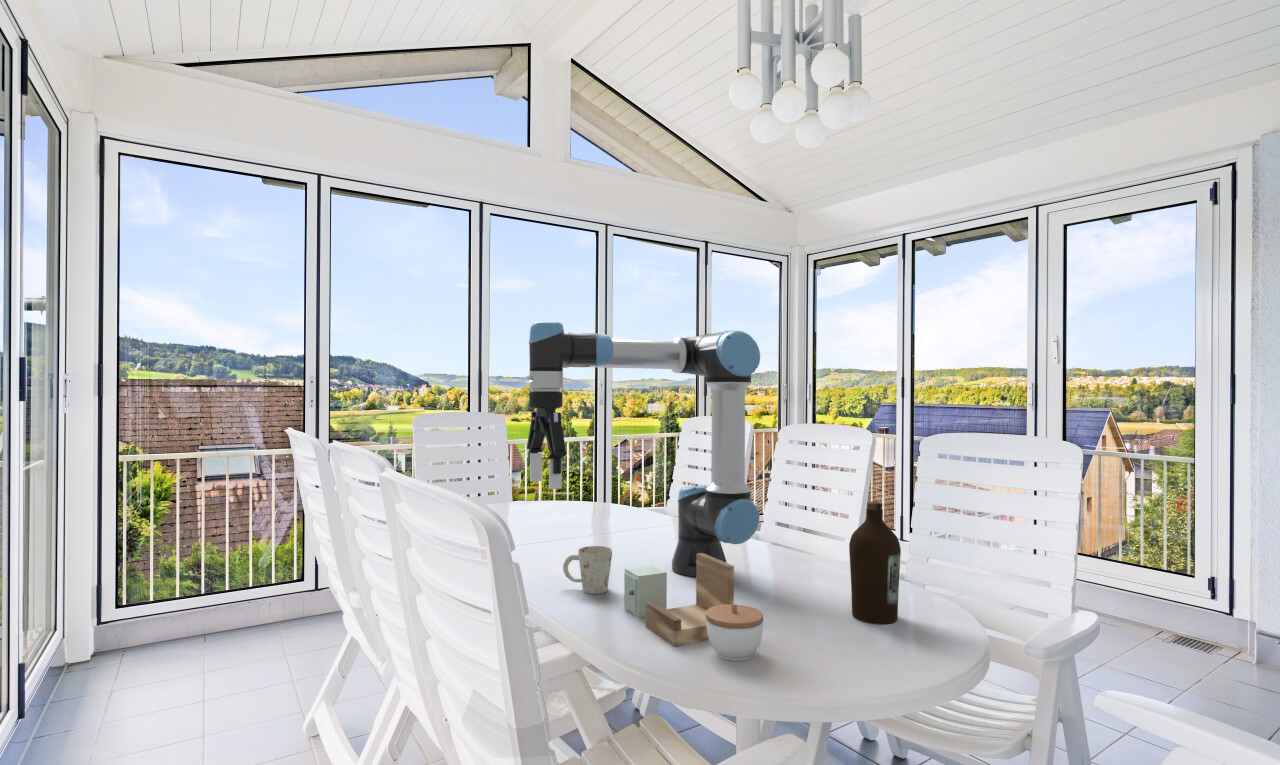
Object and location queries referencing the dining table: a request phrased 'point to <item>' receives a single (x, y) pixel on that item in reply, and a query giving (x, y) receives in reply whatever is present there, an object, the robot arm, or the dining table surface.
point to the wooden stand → (691, 620)
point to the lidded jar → (734, 630)
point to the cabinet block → (644, 588)
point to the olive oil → (874, 569)
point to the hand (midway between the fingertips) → (545, 484)
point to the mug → (592, 568)
